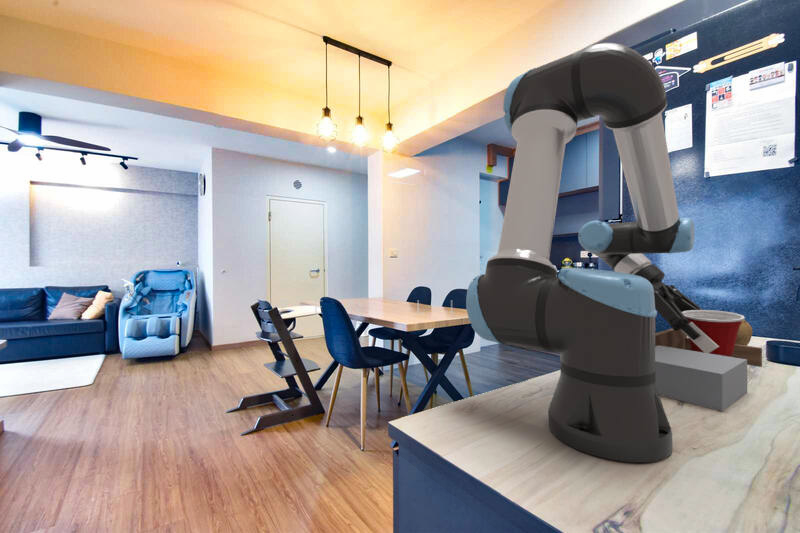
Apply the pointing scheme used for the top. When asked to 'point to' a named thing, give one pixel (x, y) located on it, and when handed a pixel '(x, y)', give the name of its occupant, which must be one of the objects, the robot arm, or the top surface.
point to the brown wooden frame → (682, 342)
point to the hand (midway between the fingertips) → (720, 347)
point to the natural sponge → (744, 334)
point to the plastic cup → (716, 329)
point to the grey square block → (700, 377)
